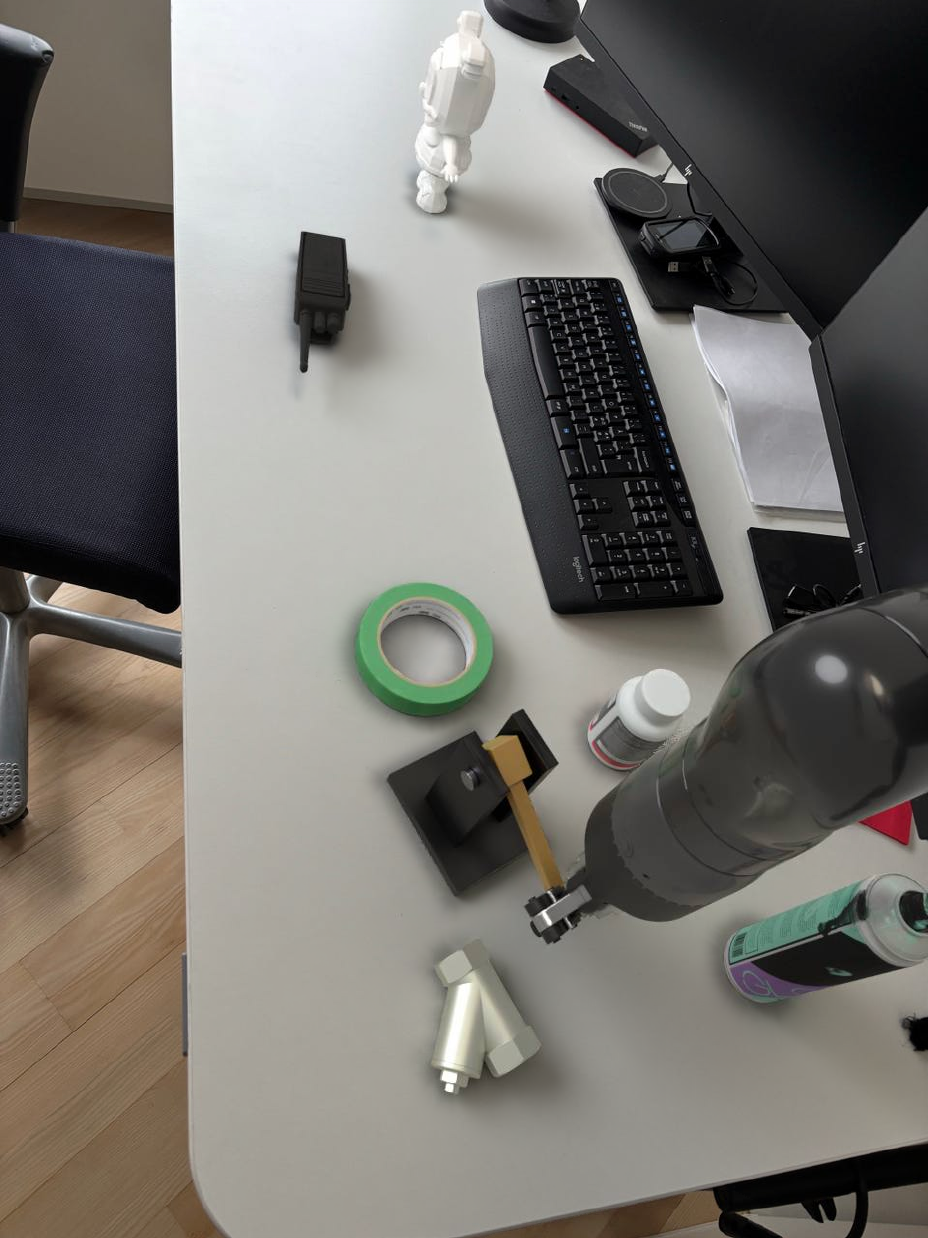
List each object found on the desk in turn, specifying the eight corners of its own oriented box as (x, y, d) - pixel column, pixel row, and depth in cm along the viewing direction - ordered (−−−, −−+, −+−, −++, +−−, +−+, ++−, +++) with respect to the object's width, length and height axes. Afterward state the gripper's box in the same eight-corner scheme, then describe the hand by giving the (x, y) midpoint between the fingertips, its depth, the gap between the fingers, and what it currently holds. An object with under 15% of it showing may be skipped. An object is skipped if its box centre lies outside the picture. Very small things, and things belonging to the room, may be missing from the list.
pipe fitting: (448, 1107, 60) (531, 1049, 63) (459, 1108, 57) (546, 1046, 60) (389, 995, 63) (471, 943, 65) (395, 989, 59) (482, 935, 62)
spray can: (737, 1010, 68) (914, 964, 51) (713, 934, 70) (875, 866, 54) (799, 996, 70) (990, 947, 53) (773, 922, 72) (949, 854, 55)
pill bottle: (653, 767, 76) (709, 721, 68) (595, 774, 75) (644, 728, 66) (635, 708, 79) (686, 657, 70) (578, 714, 77) (624, 662, 69)
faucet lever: (585, 897, 64) (605, 903, 62) (529, 934, 62) (547, 941, 60) (516, 726, 63) (534, 726, 61) (457, 757, 61) (473, 758, 59)
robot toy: (397, 246, 100) (436, 72, 84) (398, 134, 110) (433, -41, 94) (463, 258, 102) (514, 90, 86) (458, 147, 112) (503, -22, 96)
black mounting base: (539, 844, 71) (601, 789, 60) (454, 896, 67) (503, 847, 56) (471, 735, 74) (518, 665, 63) (386, 779, 70) (420, 712, 59)
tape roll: (361, 719, 72) (366, 706, 70) (348, 598, 77) (353, 581, 75) (495, 713, 75) (504, 700, 73) (474, 597, 80) (482, 581, 78)
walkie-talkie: (364, 251, 95) (366, 380, 84) (317, 280, 98) (313, 410, 86) (327, 205, 91) (323, 335, 80) (278, 237, 93) (269, 367, 82)
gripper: (629, 965, 42) (518, 1012, 57) (814, 832, 48) (671, 905, 63) (541, 825, 45) (456, 904, 59) (728, 714, 51) (609, 811, 65)
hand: (567, 904), depth 61 cm, fingers closed
